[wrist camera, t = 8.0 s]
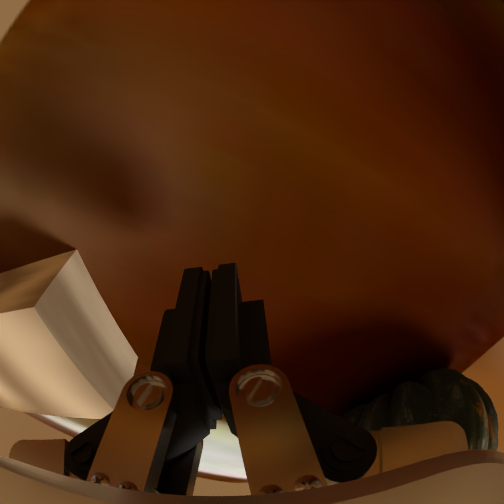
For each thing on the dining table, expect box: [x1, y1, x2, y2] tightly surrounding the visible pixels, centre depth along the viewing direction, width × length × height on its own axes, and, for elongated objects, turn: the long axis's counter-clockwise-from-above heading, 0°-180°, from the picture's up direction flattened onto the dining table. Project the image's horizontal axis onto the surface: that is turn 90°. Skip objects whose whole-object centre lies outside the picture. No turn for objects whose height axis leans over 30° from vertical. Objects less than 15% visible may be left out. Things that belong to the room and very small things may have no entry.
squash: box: [341, 368, 498, 450], centre depth 18 cm, size 14×15×15 cm
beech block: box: [0, 249, 138, 419], centre depth 14 cm, size 12×8×5 cm, turn 102°
